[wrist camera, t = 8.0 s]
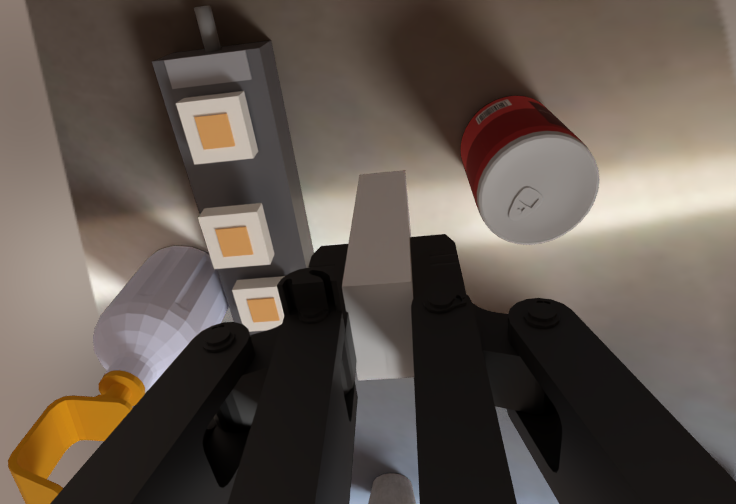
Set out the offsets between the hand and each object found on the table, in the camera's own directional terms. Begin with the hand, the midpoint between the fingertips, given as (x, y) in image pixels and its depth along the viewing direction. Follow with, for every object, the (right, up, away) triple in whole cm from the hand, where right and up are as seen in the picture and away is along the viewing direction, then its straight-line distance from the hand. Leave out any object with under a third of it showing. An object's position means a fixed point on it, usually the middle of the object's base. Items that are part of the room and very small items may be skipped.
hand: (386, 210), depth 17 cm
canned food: (+11, +8, +26) cm, 29 cm away
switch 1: (-12, +10, +25) cm, 29 cm away
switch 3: (-10, -4, +32) cm, 34 cm away
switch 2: (-11, +2, +27) cm, 29 cm away
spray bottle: (-19, -4, +34) cm, 39 cm away
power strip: (-11, +5, +28) cm, 31 cm away
